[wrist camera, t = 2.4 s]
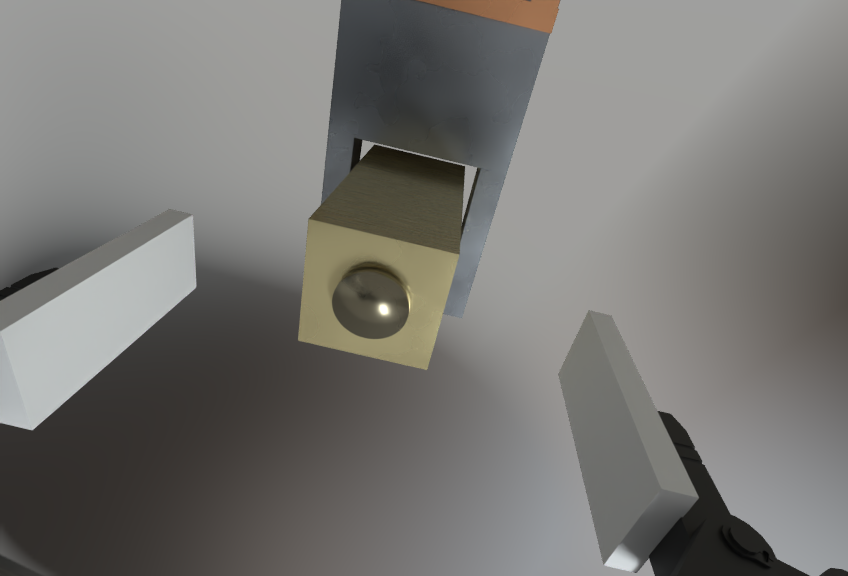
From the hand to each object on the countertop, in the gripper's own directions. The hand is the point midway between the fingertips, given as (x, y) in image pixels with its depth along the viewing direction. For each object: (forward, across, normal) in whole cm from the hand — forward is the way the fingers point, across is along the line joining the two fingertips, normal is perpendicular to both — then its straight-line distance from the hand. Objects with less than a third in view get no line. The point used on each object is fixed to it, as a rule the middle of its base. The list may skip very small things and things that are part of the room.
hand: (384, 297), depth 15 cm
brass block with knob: (+9, 0, 0) cm, 9 cm away
